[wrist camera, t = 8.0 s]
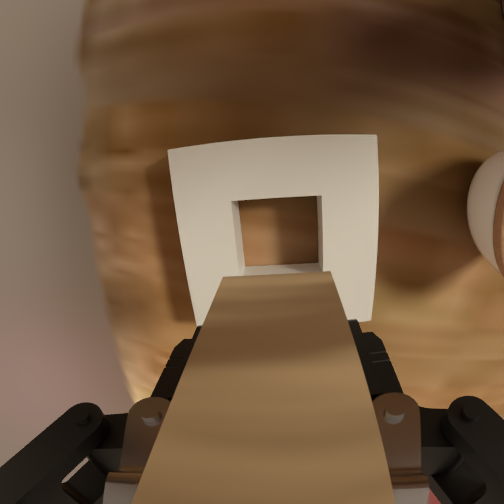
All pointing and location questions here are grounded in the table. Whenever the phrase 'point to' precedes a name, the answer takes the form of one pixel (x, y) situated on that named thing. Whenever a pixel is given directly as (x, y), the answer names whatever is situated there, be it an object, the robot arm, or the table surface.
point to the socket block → (276, 186)
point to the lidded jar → (488, 210)
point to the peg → (270, 404)
